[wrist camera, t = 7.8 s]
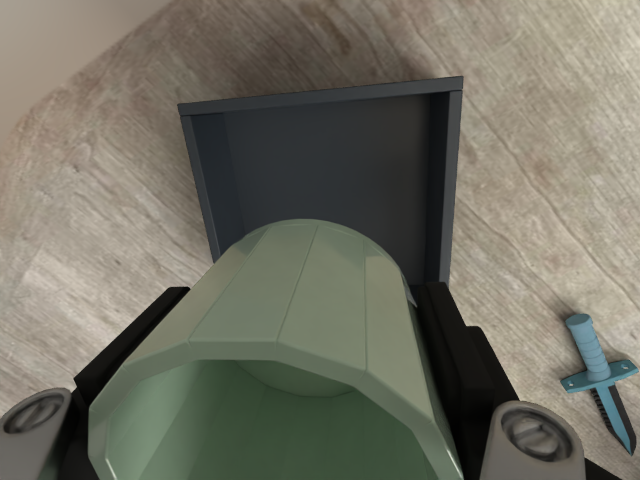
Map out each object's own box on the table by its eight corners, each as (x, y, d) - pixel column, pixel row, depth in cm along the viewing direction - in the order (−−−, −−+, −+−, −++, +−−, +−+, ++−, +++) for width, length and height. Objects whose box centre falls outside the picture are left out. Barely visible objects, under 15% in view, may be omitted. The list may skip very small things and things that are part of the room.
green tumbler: (190, 222, 10) (25, 338, 5) (415, 212, 9) (480, 340, 4) (231, 388, 13) (146, 574, 8) (411, 393, 12) (449, 608, 7)
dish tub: (216, 103, 22) (176, 103, 17) (439, 81, 20) (463, 75, 15) (251, 289, 27) (228, 328, 22) (430, 287, 25) (445, 329, 20)
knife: (670, 456, 28) (605, 470, 29) (658, 442, 29) (596, 457, 30) (618, 311, 22) (542, 339, 24) (606, 301, 23) (534, 328, 25)
